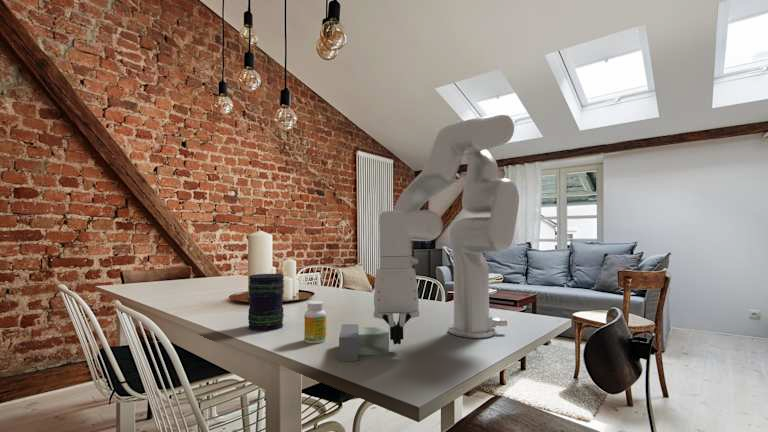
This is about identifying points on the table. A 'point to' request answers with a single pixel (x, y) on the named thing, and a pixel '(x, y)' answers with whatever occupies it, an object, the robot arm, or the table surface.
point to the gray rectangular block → (348, 342)
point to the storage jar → (266, 302)
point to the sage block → (373, 341)
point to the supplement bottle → (315, 323)
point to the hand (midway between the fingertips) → (396, 342)
